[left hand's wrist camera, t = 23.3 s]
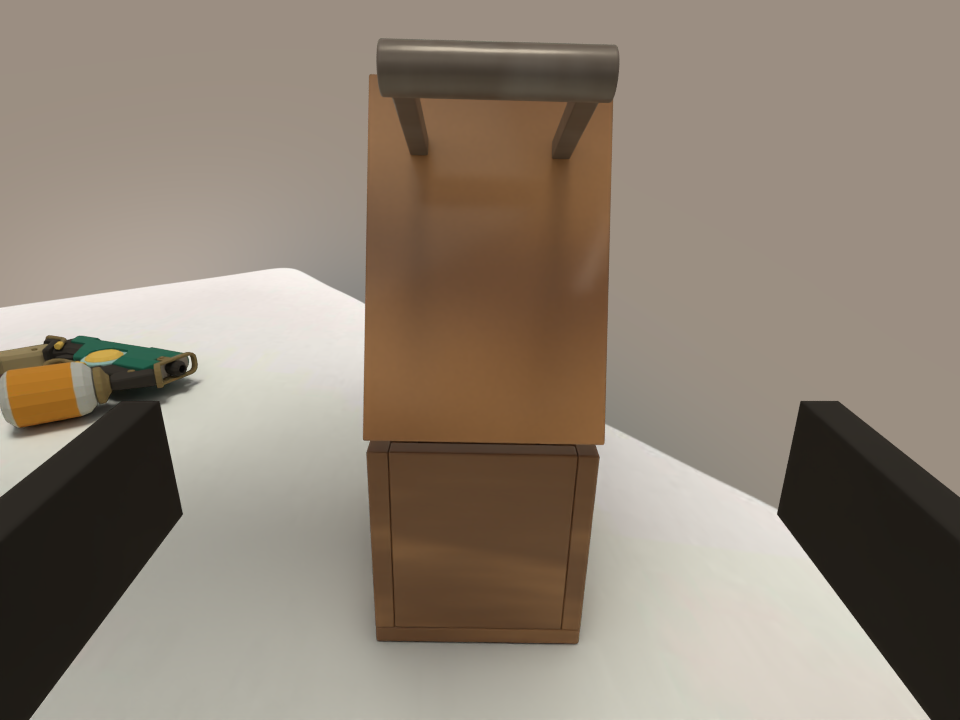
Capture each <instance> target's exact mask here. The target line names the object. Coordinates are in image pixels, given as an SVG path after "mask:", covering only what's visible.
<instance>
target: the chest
mask: <svg viewBox="0 0 960 720" xmlns="http://www.w3.org/2000/svg"><path fill="white" fill-rule="evenodd" d="M366 455H367V473H368V492H369V510H370V529H371V547H372V566H373V584H374V602H375V621H376V637H377V640H378V641H441V642H510V643H578V641H579V632H580V624H581V615H582V607H583V598H584V589H585V580H586V572H587V563H588V554H589V545H590V536H591V528H592V519H593V510H594V501H595V493H596V484H597V475H598V466H599V458H600V457H599V454H598V451H597V448H596V445H580V444H527V443H473V442H420V441H370V443H369V446H368V449H367V452H366Z"/></svg>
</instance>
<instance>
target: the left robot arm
mask: <svg viewBox="0 0 960 720" xmlns="http://www.w3.org/2000/svg"><path fill="white" fill-rule="evenodd" d="M182 515H183V512H182V508H181V503H180V498H179V493H178V488H177V484H176V479H175V474H174V469H173V464H172V460H171V455H170V450H169V445H168V440H167V436H166V431H165V426H164V421H163V416H162V412H161V407H160V402H159V401H121V402H120V403H119V404H118V405H116V406H115V407H114V408H113V409H111V410H110V411H109V412H107V413H106V414H105V415H104V416H102V417H101V418H100V419H99V420H97V421H96V422H95V423H94V424H92V425H91V426H90V427H89V428H87V429H86V430H85V431H83V432H82V433H81V434H80V435H78V436H77V437H76V438H75V439H73V440H72V441H71V442H70V443H68V444H67V445H66V446H65V447H63V448H62V449H61V450H59V451H58V452H57V453H56V454H54V455H53V456H52V457H51V458H49V459H48V460H47V461H46V462H44V463H43V464H42V465H41V466H39V467H38V468H37V469H35V470H34V471H33V472H32V473H30V474H29V475H28V476H27V477H25V478H24V479H23V480H22V481H20V482H19V483H18V484H17V485H15V486H14V487H13V488H11V489H10V490H9V491H8V492H6V493H5V494H4V495H3V496H1V497H0V720H29V719H30V718H31V716H32V715H33V714H34V712H35V711H36V710H37V708H38V707H39V706H40V704H41V703H42V702H43V700H44V699H45V698H46V696H47V695H48V694H49V692H50V691H51V690H52V688H53V687H54V686H55V684H56V683H57V682H58V680H59V679H60V678H61V676H62V675H63V674H64V672H65V671H66V670H67V668H68V667H69V666H70V664H71V663H72V662H73V660H74V659H75V658H76V656H77V655H78V654H79V652H80V651H81V650H82V648H83V647H84V646H85V644H86V643H87V642H88V640H89V639H90V638H91V636H92V635H93V634H94V632H95V631H96V630H97V628H98V627H99V626H100V624H101V623H102V622H103V620H104V619H105V618H106V616H107V615H108V614H109V612H110V611H111V610H112V608H113V607H114V606H115V604H116V603H117V602H118V600H119V599H120V598H121V596H122V595H123V594H124V592H125V591H126V590H127V588H128V587H129V586H130V584H131V583H132V582H133V580H134V579H135V578H136V576H137V575H138V574H139V572H140V571H141V570H142V568H143V567H144V566H145V564H146V563H147V562H148V560H149V559H150V558H151V556H152V555H153V554H154V552H155V551H156V550H157V548H158V547H159V546H160V544H161V543H162V542H163V540H164V539H165V538H166V536H167V535H168V534H169V532H170V531H171V530H172V528H173V527H174V526H175V524H176V523H177V521H178V520H179V519H180V517H181V516H182ZM777 515H778V516H779V517H780V519H781V520H782V521H783V523H784V524H785V526H786V527H787V528H788V530H789V531H790V532H791V534H792V535H793V536H794V538H795V539H796V540H797V542H798V543H799V544H800V546H801V547H802V548H803V550H804V551H805V552H806V554H807V555H808V556H809V558H810V559H811V560H812V562H813V563H814V564H815V566H816V567H817V568H818V570H819V571H820V572H821V574H822V575H823V576H824V578H825V579H826V580H827V582H828V583H829V584H830V586H831V587H832V588H833V590H834V591H835V592H836V594H837V595H838V596H839V598H840V599H841V600H842V602H843V603H844V604H845V606H846V607H847V608H848V610H849V611H850V612H851V614H852V615H853V616H854V618H855V619H856V620H857V622H858V623H859V624H860V626H861V627H862V628H863V630H864V631H865V632H866V634H867V635H868V636H869V638H870V639H871V640H872V642H873V643H874V644H875V646H876V647H877V648H878V650H879V651H880V652H881V654H882V655H883V656H884V658H885V659H886V660H887V662H888V663H889V664H890V666H891V667H892V668H893V670H894V671H895V672H896V674H897V675H898V676H899V678H900V679H901V680H902V682H903V683H904V684H905V686H906V687H907V688H908V690H909V691H910V692H911V694H912V695H913V696H914V698H915V699H916V700H917V702H918V703H919V704H920V706H921V707H922V708H923V710H924V711H925V712H926V714H927V715H928V716H929V718H930V719H931V720H960V497H959V496H957V495H956V494H955V493H954V492H952V491H951V490H950V489H949V488H947V487H946V486H945V485H943V484H942V483H941V482H940V481H938V480H937V479H936V478H935V477H933V476H932V475H931V474H930V473H928V472H927V471H926V470H925V469H923V468H922V467H921V466H919V465H918V464H917V463H916V462H914V461H913V460H912V459H911V458H909V457H908V456H907V455H906V454H904V453H903V452H902V451H901V450H899V449H898V448H897V447H895V446H894V445H893V444H892V443H890V442H889V441H888V440H887V439H885V438H884V437H883V436H882V435H880V434H879V433H878V432H876V431H875V430H874V429H873V428H871V427H870V426H869V425H868V424H866V423H865V422H864V421H863V420H861V419H860V418H859V417H858V416H856V415H855V414H854V413H853V412H851V411H850V410H849V409H847V408H846V407H845V406H844V405H842V404H841V403H840V402H839V401H801V402H800V407H799V412H798V417H797V421H796V426H795V431H794V436H793V440H792V445H791V450H790V455H789V460H788V464H787V469H786V474H785V479H784V484H783V488H782V493H781V498H780V503H779V508H778V512H777Z"/></svg>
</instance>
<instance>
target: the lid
mask: <svg viewBox="0 0 960 720" xmlns="http://www.w3.org/2000/svg"><path fill="white" fill-rule="evenodd" d="M618 74H619V51H618V47H617V46H616V45H607V44H570V43H533V42H497V41H460V40H423V39H386V38H381V39H379V41H378V45H377V75H374V74H370V75H369V113H368V172H367V232H366V291H365V351H364V411H363V440H366V441H420V442H473V443H527V444H580V445H604V441H605V401H606V361H607V321H608V281H609V242H610V201H611V162H612V122H613V98H614V95H615V92H616V87H617V82H618Z"/></svg>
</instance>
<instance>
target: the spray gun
mask: <svg viewBox="0 0 960 720" xmlns="http://www.w3.org/2000/svg"><path fill="white" fill-rule="evenodd" d="M188 356H190V357H191V361H192V368H191V369H190V370H189V371H187V372H186V370H187V367H188V365H189V358H188ZM197 366H198V363H197V358H196V355H195V354H194V353H191V352H186V353H180V352H175V351H169V350H164V349H158V348H153V347H151V348H147V347H140V346H134V345H127V344H121V343H115V342H108V341H102V340H100V339H98V338H93V337H87V336H77V337H76V338H74V339H70V340H66V338H64V337H58V336H51V335H48V336H46V339H45V341H44V344H42V345H36V346H30V347H24V348H18V349H12V350H6V351H0V407H1V410H2V414H3V416H4V418H5V420H6V421H7V422H8V423H10V424H12V425H13V426H15V427H17V428H21V427H27V426H32V425H37V424H42V423H48V422H53V421H58V420H64V419H69V418H74V417H79V416H83V415H85V414H88V413H90V412H92V411H93V409H94V408H95V407H96V406H97V404H98V402H99V404H103V403H106V402H107V400H108V398H109V395H110V394H111V393H112V390H124V389H132V388H140V387H149V386H155V385H156V384H157V388H162V387H164V385H165V384H168V383H170V382H173V381H175V380H178V379H180V378H183V377H185V376H188V375H190V374H193V373H194V372H196V370H197ZM171 375H173V376H171ZM163 380H164V381H163Z"/></svg>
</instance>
